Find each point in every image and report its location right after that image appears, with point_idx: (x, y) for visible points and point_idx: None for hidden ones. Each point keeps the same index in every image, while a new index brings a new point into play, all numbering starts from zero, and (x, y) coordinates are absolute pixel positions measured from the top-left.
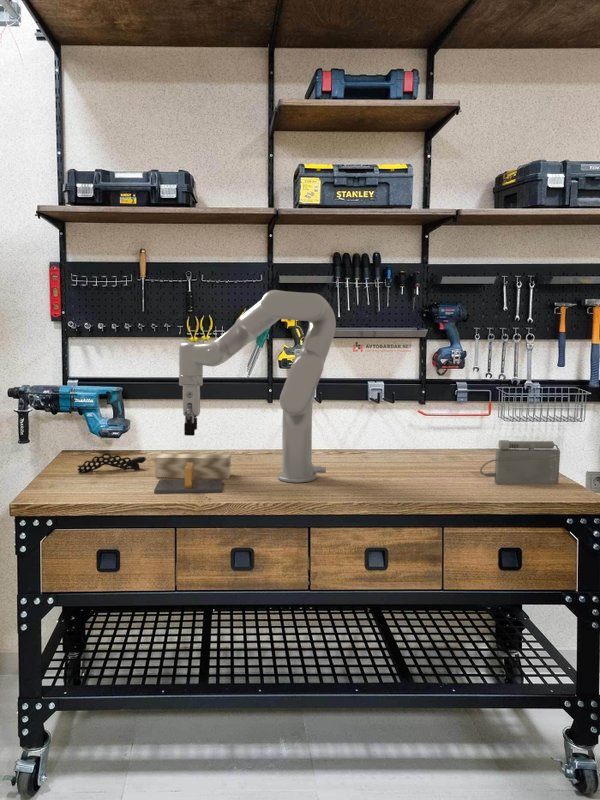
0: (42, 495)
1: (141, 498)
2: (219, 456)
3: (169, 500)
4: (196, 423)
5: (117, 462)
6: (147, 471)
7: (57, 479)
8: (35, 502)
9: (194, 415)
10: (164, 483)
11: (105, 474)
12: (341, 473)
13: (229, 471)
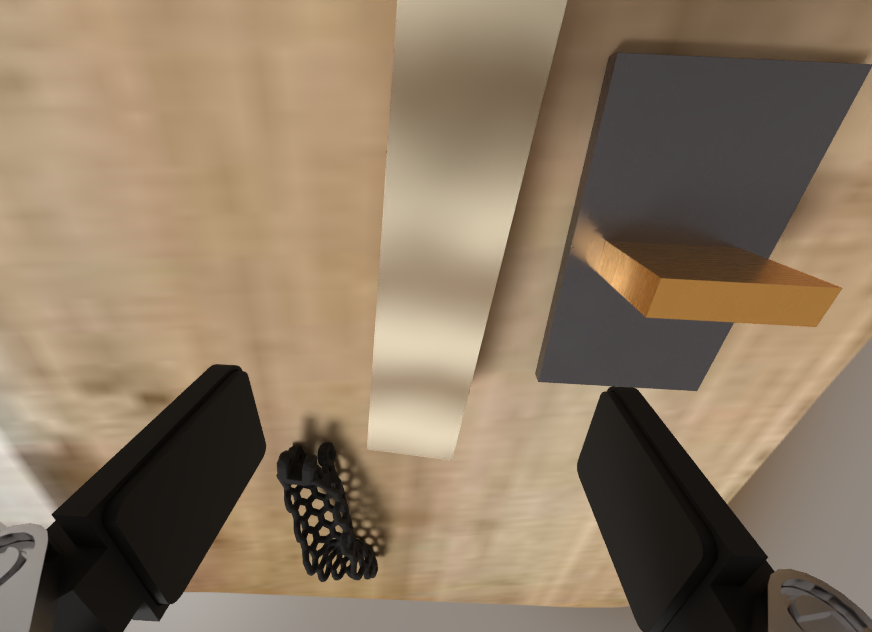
0: (583, 587)
1: (736, 413)
2: (479, 54)
3: (829, 327)
4: (187, 428)
5: (311, 514)
6: (349, 418)
7: (435, 581)
8: None
9: (35, 613)
10: (607, 362)
11: (389, 511)
12: None
13: None
